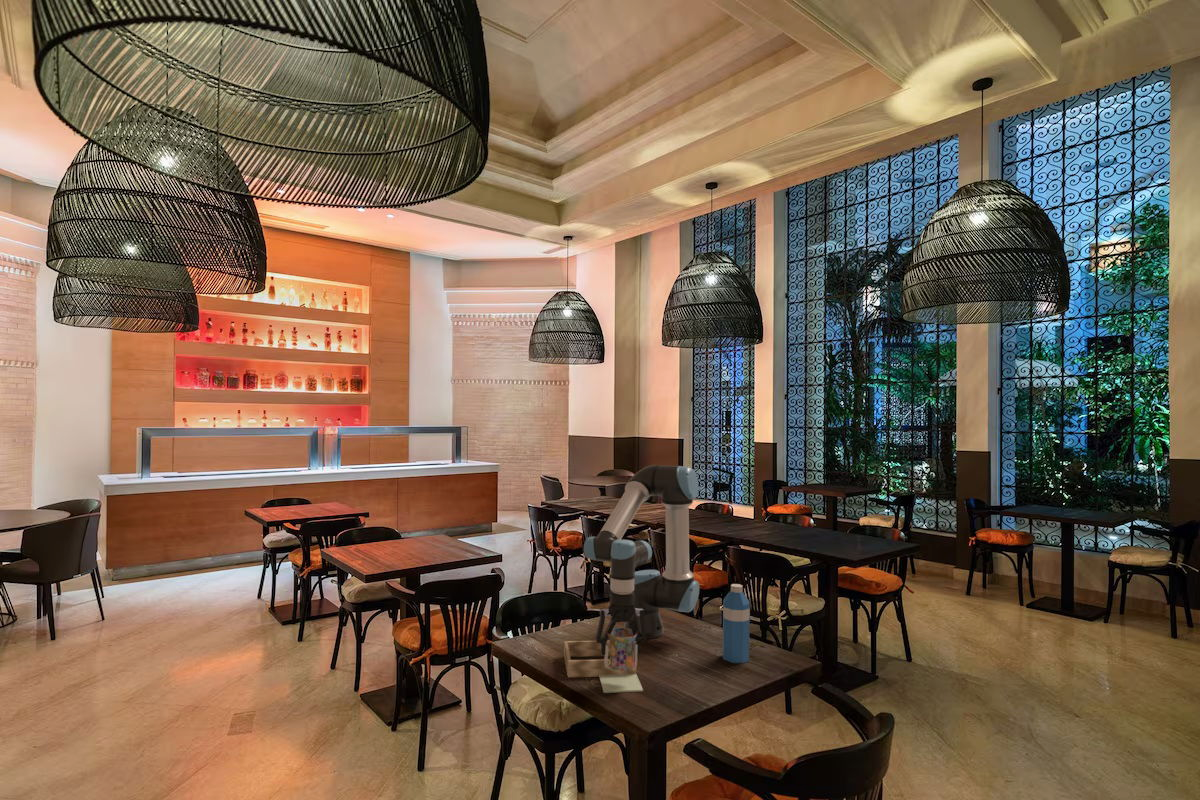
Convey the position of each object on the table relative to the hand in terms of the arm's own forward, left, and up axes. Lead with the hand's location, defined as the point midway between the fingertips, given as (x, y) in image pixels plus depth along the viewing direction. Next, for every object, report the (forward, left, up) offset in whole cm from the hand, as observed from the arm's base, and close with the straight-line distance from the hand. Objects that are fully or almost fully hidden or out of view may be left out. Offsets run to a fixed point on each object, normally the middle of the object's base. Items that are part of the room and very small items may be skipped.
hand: (620, 664), depth 200 cm
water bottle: (-43, -18, -6) cm, 47 cm away
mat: (0, 0, -6) cm, 6 cm away
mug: (0, 0, -1) cm, 1 cm away
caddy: (+5, -15, -6) cm, 17 cm away
